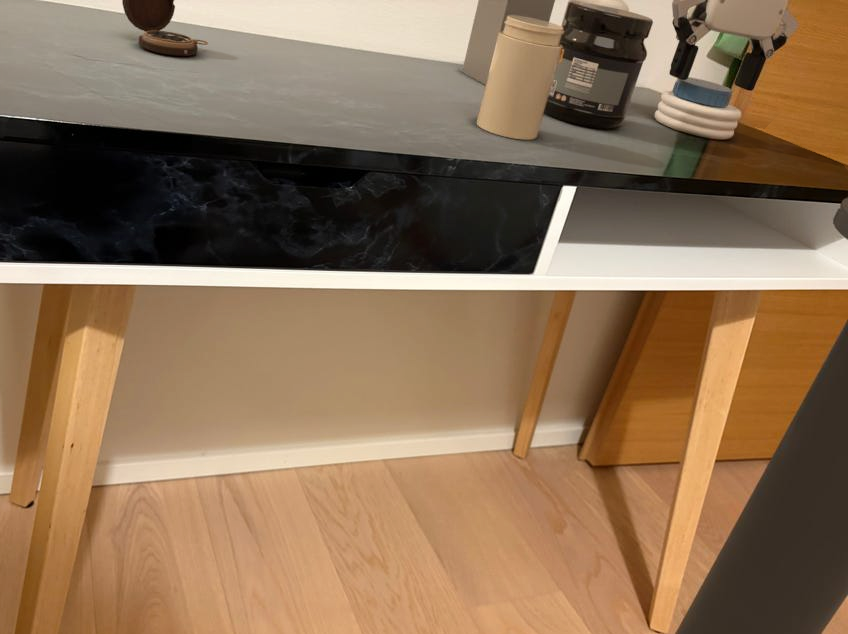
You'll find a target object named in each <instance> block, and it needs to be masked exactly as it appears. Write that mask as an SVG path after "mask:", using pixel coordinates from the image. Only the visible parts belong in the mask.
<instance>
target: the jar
mask: <svg viewBox="0 0 848 634" xmlns="http://www.w3.org/2000/svg"><path fill="white" fill-rule="evenodd" d="M504 23H505V27H504V31H501V32H499V34H498V38H497V42H496V46H495V50H494V54H493V58H492V62H491V66H490V71H489V75H488V79H487V83H486V85H485V88H484V91H483V94H482V99H481V103H480V108H479V111H478V114H477V119H476V125H477V126H478V127H479V128H480V129H482V130H483V131H486V132H488V133H491V134H494V135H497V136H501V137H504V138H509V139H516V140H524V141H528V140H530V141H531V140H535V139H537V138H538V135H539V131H540V127H541V123H542V120H543V117H544V113H545V112H544V111H545V107H546V104H547V100H548V97H549V93H550V90H551V86H552V83H553V79H554V76H555V73H556V69H557V66H558V62H559V59H560V55H561V52H562V48H563V46H562V45H561V44H560V40H561V37H562V34H564V31H563V30H564V28H563V27H561V25H559V24H556V23H553V22H550V21H549V22H546V21H542V20H538V19H534V18H529V17H523V16H516V15H508V16H507V19H506V21H505V22H504Z"/></svg>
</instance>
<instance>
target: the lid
mask: <svg viewBox="0 0 848 634" xmlns="http://www.w3.org/2000/svg"><path fill="white" fill-rule="evenodd" d="M671 91H672V92H673V94H675V95H677V96H679V97H681V98H684V99H687V100H690V101H693V102H697V103H701V104H705V105H710V106H716V107H726V106H728V104H730V101H731V99H732V97H733V95H732V94H733V92H734V90H733V89H731V88H730V87H727V86H725V85H722V84H719V83H716V82H712V81H708V80H705V79H701V78H697V77H696V78H695V77H690V76H688V79H686V80H680V79H678V78H676V81H675V82H674V86H673V87H672V90H671Z"/></svg>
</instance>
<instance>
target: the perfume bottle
mask: <svg viewBox="0 0 848 634" xmlns="http://www.w3.org/2000/svg"><path fill="white" fill-rule="evenodd" d="M555 2H556V0H478V1H477V5H476V10H475V14H474V19H473V23H472V26H471V27H472V28H471V31H470V36H469V40H468V44H467V49H466V52H465V58H464V61H463V66H462V69H461V73H462V74H464V75H466V76H468V77H470V78H472V79H473V80H475V81H477V82H479V83H481V84H483V85H485V86H486V83H487V79H488V75H489V71H490V66H491V62H492V58H493V54H494V50H495V46H496V42H497V38H498V34H499V32H501V31H504V27H505V23H504V22H505V21H506V19H507V16H508V15H516V16H523V17H529V18H534V19H538V20H542V21H546V22H550V20H551V18H552V17H551V16H552V13H553V9H554V7H555V6H554V5H555Z"/></svg>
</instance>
